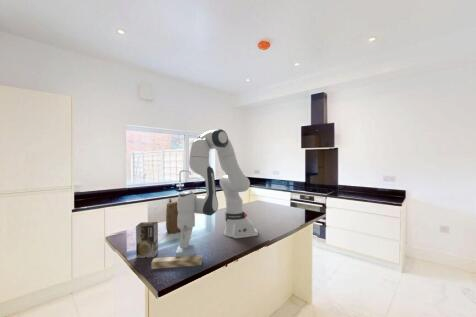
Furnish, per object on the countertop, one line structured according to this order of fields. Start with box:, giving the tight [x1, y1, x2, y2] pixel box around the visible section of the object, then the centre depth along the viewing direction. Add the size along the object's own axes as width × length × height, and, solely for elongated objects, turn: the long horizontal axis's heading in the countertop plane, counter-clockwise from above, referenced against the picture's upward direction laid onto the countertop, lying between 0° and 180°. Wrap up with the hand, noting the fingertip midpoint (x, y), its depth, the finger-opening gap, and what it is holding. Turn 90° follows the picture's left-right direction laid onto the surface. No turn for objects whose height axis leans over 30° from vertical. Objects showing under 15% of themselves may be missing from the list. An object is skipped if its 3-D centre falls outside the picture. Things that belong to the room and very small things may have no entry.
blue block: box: [175, 244, 195, 257], centre depth 103 cm, size 8×8×5 cm
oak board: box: [151, 254, 203, 270], centre depth 97 cm, size 22×4×3 cm, turn 98°
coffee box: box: [135, 221, 159, 259], centre depth 108 cm, size 9×6×16 cm
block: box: [165, 201, 181, 234], centre depth 143 cm, size 11×8×20 cm
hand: (186, 249), depth 109 cm, fingers closed
